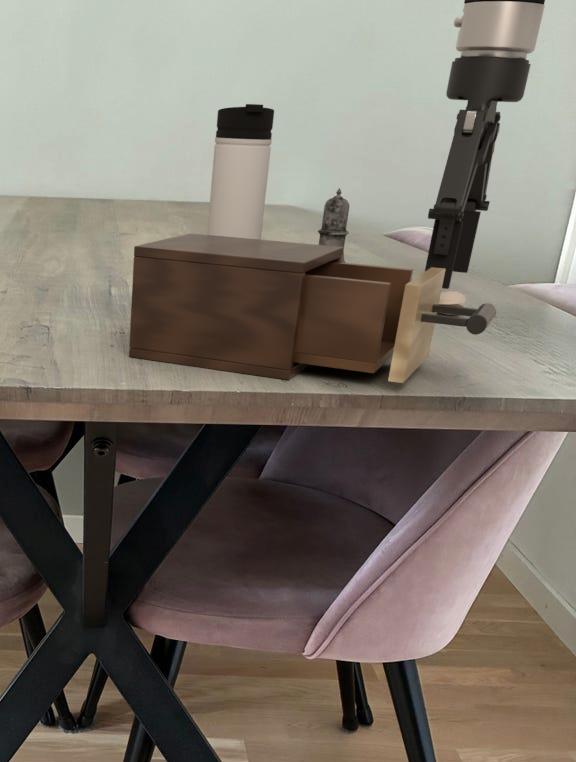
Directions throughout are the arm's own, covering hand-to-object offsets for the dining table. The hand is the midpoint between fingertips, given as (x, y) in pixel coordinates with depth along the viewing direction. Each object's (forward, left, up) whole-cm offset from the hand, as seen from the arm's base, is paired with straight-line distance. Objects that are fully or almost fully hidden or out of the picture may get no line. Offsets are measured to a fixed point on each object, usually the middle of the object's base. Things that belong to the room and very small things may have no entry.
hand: (445, 279), depth 106 cm
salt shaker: (+14, -2, -4) cm, 14 cm away
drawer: (+1, +34, -3) cm, 34 cm away
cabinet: (+13, +34, -4) cm, 37 cm away
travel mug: (+24, +4, -4) cm, 24 cm away
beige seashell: (0, 0, -4) cm, 4 cm away
